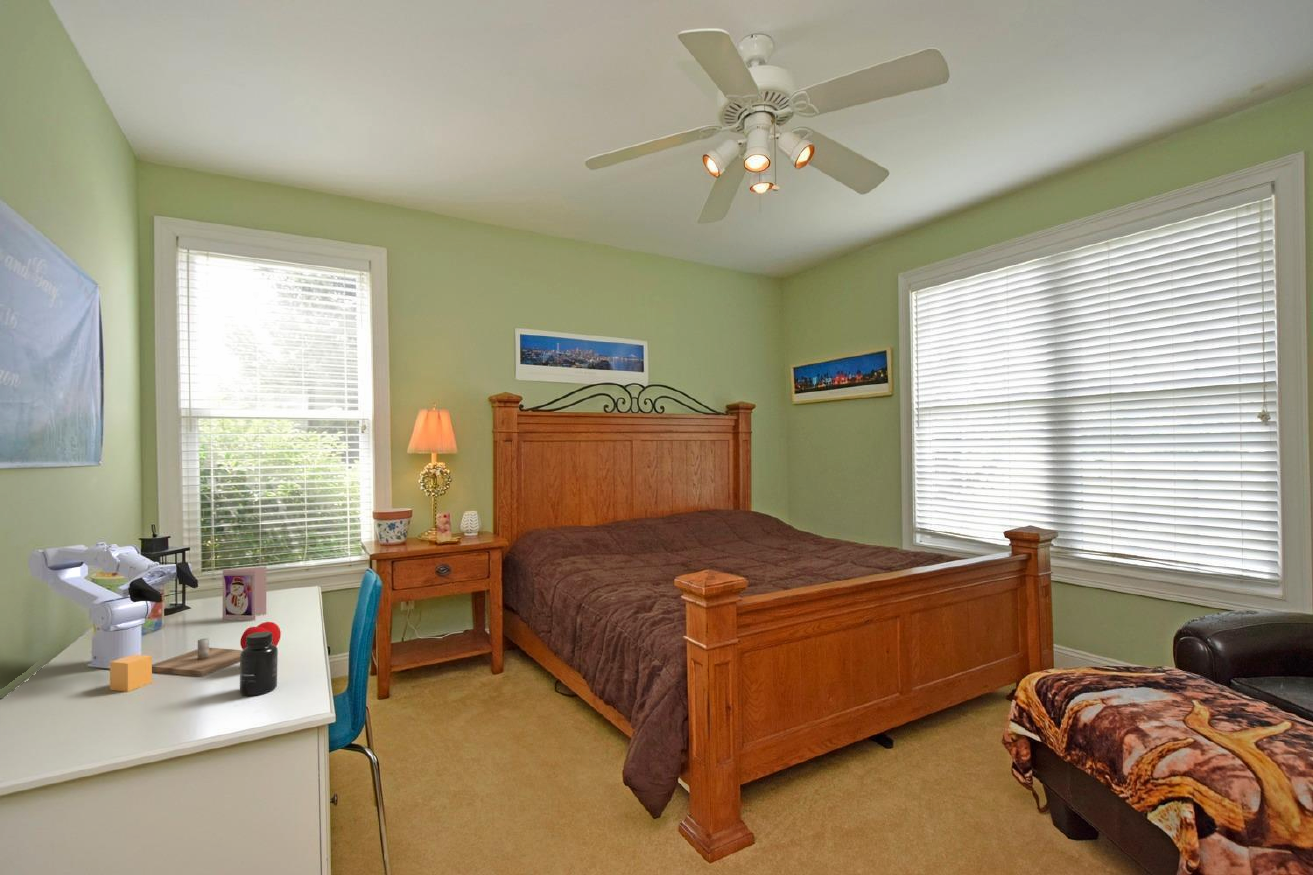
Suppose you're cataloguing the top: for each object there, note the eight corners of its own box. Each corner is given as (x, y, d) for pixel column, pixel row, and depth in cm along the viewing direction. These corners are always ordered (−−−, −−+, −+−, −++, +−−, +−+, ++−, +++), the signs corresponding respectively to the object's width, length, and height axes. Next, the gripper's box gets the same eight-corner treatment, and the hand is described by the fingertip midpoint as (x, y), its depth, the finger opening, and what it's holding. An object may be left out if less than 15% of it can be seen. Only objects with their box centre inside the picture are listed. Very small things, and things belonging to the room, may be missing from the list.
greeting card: (220, 619, 188) (220, 570, 188) (240, 613, 195) (240, 566, 195) (252, 621, 186) (252, 571, 186) (272, 614, 193) (272, 566, 193)
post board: (147, 671, 144) (147, 646, 144) (204, 651, 158) (204, 629, 158) (202, 676, 141) (202, 651, 141) (255, 656, 154) (255, 633, 154)
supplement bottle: (237, 699, 127) (237, 641, 128) (241, 688, 134) (242, 632, 134) (276, 692, 131) (276, 636, 131) (278, 682, 137) (278, 628, 137)
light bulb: (257, 674, 141) (257, 631, 141) (231, 672, 143) (231, 629, 143) (288, 660, 150) (288, 619, 151) (264, 659, 152) (264, 618, 152)
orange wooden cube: (109, 689, 133) (110, 661, 133) (134, 681, 138) (134, 654, 138) (127, 691, 132) (127, 663, 132) (151, 682, 137) (151, 655, 137)
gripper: (104, 568, 140) (141, 589, 135) (174, 545, 153) (210, 563, 148) (107, 595, 142) (144, 617, 138) (176, 570, 155) (211, 588, 150)
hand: (178, 591), depth 143 cm, fingers open, 7 cm apart
